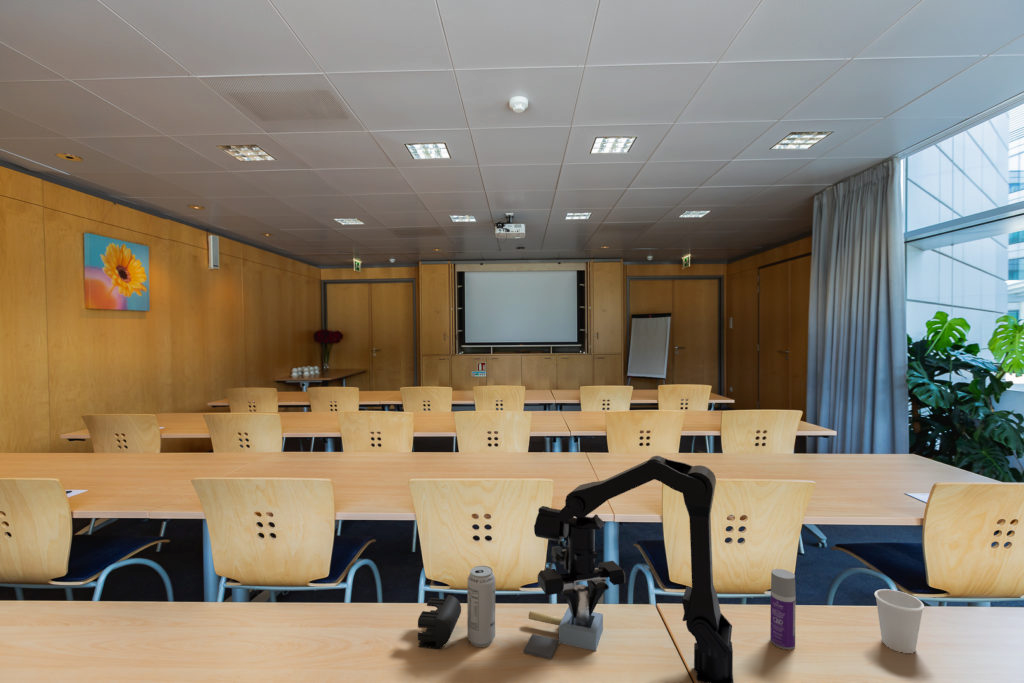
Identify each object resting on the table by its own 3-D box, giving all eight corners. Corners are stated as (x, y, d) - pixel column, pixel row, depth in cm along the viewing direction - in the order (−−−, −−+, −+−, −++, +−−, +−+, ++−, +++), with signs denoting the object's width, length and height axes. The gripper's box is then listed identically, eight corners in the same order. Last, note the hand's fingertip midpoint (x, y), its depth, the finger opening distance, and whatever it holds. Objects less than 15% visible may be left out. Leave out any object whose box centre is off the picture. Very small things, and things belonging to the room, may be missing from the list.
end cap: (449, 652, 103) (449, 620, 103) (417, 649, 104) (417, 617, 104) (461, 624, 113) (461, 595, 113) (431, 622, 114) (431, 593, 114)
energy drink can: (498, 645, 105) (498, 575, 105) (470, 650, 103) (470, 579, 103) (491, 629, 111) (491, 563, 110) (465, 634, 109) (465, 566, 109)
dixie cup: (893, 657, 101) (893, 609, 101) (865, 633, 109) (865, 588, 109) (934, 658, 101) (935, 609, 101) (903, 634, 109) (903, 589, 109)
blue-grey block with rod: (602, 629, 110) (602, 613, 110) (595, 651, 103) (595, 633, 103) (535, 615, 116) (535, 600, 116) (523, 634, 109) (523, 618, 109)
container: (770, 646, 105) (770, 575, 105) (770, 634, 109) (770, 566, 109) (795, 652, 103) (796, 580, 103) (794, 640, 107) (795, 571, 107)
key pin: (591, 632, 107) (591, 591, 107) (577, 635, 106) (577, 593, 106) (585, 623, 110) (585, 583, 110) (571, 626, 109) (571, 585, 109)
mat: (558, 642, 106) (558, 639, 106) (551, 659, 100) (551, 656, 100) (532, 636, 108) (532, 633, 108) (523, 652, 102) (523, 650, 102)
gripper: (603, 526, 118) (603, 591, 118) (529, 535, 113) (529, 603, 113) (626, 545, 108) (626, 616, 108) (546, 555, 103) (546, 630, 103)
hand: (581, 615), depth 108 cm, fingers closed on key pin, 3 cm apart
